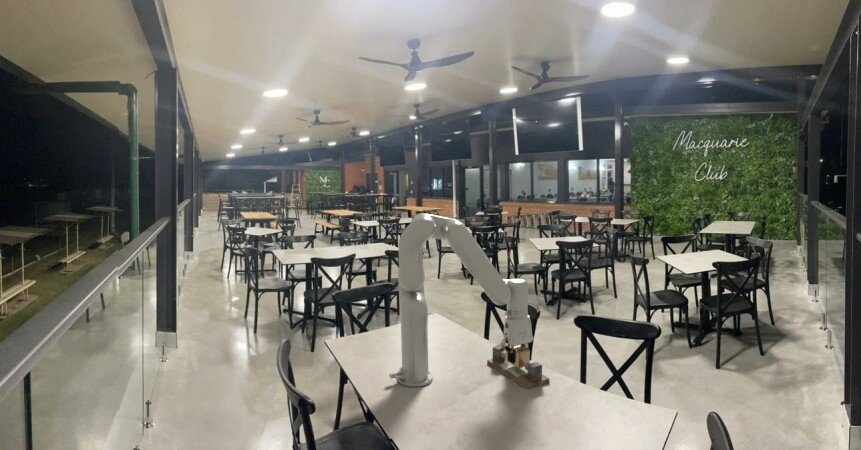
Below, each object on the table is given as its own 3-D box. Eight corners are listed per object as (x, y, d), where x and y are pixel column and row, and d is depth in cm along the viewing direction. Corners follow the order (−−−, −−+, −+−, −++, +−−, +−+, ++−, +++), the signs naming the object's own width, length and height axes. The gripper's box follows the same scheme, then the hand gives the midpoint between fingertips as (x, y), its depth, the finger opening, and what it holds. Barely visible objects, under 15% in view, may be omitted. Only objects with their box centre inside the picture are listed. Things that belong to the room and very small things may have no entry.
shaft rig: (526, 389, 162) (527, 369, 161) (487, 363, 183) (487, 346, 182) (549, 382, 167) (549, 363, 166) (508, 358, 188) (508, 341, 187)
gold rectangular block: (518, 368, 170) (518, 352, 169) (505, 360, 177) (505, 345, 176) (529, 365, 172) (529, 349, 171) (516, 357, 179) (516, 342, 178)
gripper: (504, 319, 165) (504, 369, 167) (542, 311, 173) (541, 359, 175) (492, 314, 171) (492, 361, 174) (529, 306, 179) (528, 352, 182)
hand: (517, 360), depth 174 cm, fingers closed on gold rectangular block, 5 cm apart
